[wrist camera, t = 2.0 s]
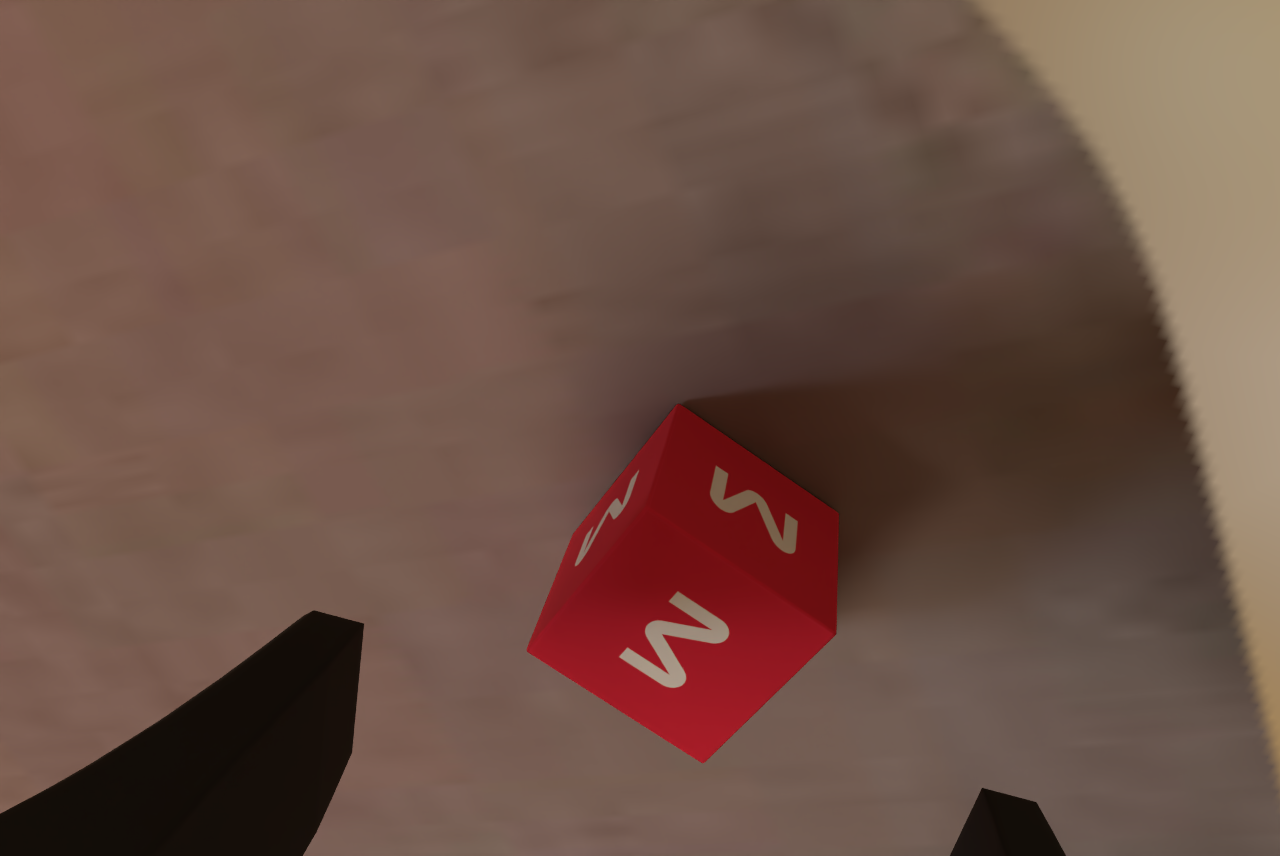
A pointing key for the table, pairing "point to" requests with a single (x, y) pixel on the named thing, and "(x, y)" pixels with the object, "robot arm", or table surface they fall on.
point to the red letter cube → (693, 587)
